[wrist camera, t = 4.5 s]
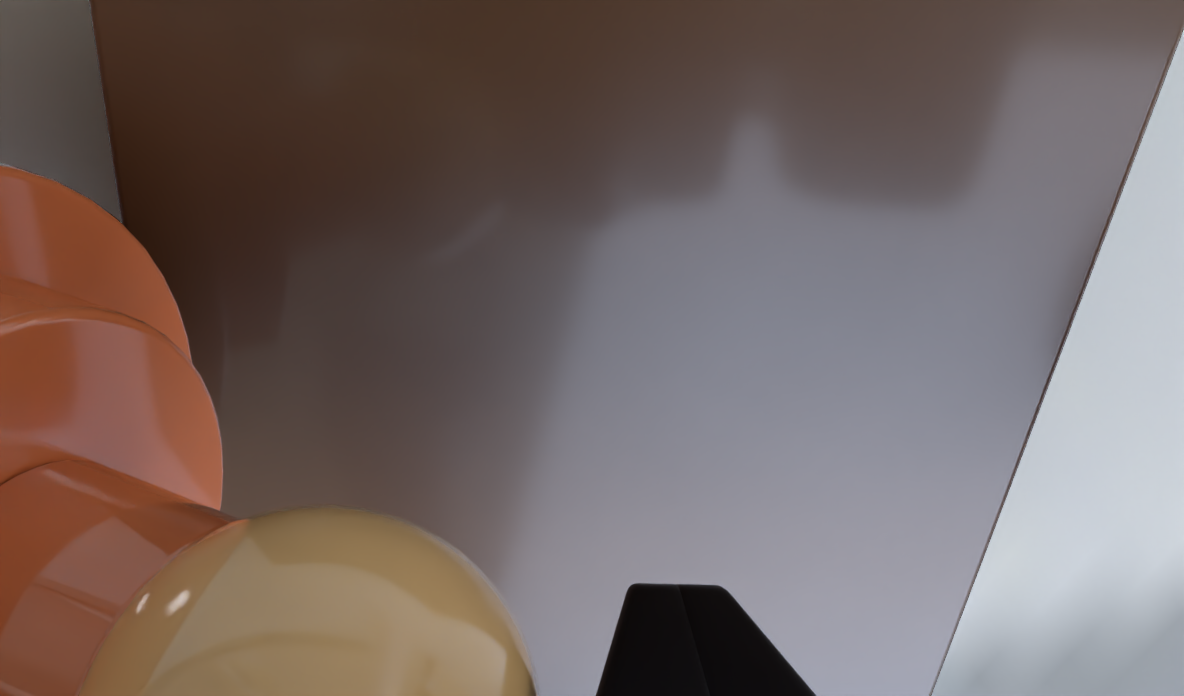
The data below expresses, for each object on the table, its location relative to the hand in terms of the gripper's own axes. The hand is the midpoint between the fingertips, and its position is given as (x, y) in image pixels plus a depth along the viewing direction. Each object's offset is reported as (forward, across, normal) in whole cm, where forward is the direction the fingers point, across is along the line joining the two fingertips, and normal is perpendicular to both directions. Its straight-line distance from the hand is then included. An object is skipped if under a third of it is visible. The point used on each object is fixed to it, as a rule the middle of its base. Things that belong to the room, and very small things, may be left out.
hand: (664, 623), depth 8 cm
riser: (+6, 0, 0) cm, 6 cm away
